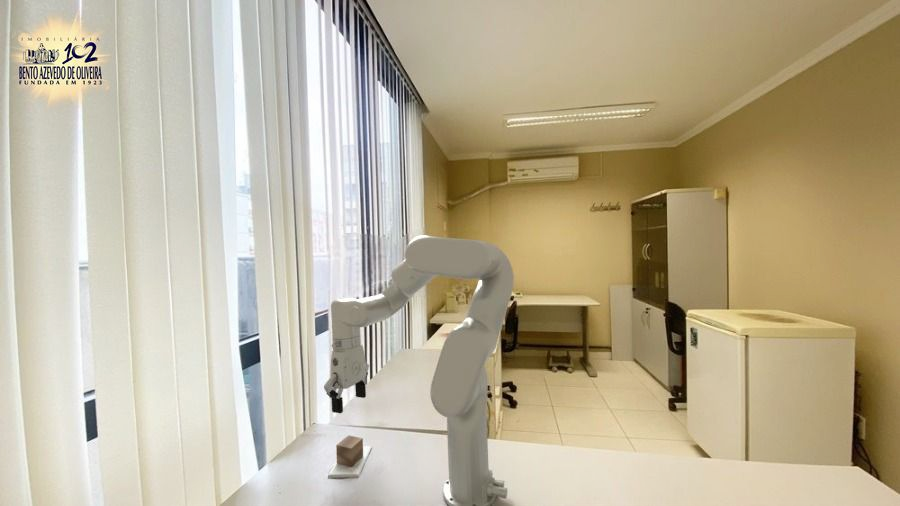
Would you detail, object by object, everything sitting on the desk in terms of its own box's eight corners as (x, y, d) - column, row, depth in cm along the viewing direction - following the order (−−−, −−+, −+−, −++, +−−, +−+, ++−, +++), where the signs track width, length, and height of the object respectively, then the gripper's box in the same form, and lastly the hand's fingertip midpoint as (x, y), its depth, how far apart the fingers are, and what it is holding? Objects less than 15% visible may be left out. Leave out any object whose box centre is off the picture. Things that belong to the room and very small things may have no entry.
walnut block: (363, 456, 90) (362, 438, 90) (351, 467, 85) (351, 448, 85) (348, 452, 91) (348, 435, 92) (336, 463, 87) (336, 445, 87)
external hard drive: (372, 451, 95) (358, 480, 82) (344, 451, 95) (327, 480, 82) (371, 445, 95) (358, 473, 82) (344, 446, 95) (327, 474, 82)
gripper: (335, 352, 79) (338, 421, 79) (376, 335, 95) (379, 393, 95) (312, 350, 82) (315, 417, 82) (355, 335, 98) (358, 390, 98)
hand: (349, 404), depth 88 cm, fingers open, 9 cm apart
